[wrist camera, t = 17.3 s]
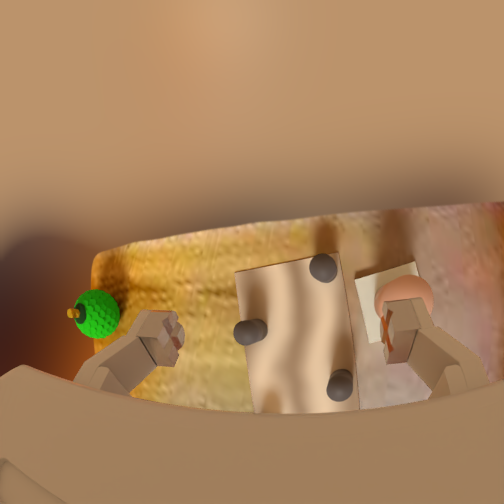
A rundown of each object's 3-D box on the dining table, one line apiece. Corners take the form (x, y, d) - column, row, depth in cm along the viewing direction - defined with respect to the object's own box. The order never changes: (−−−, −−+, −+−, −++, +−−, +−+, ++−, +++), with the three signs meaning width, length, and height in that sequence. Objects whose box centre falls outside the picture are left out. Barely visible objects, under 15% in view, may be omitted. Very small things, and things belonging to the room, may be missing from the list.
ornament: (110, 282, 47) (66, 276, 38) (136, 309, 44) (91, 308, 35) (94, 317, 48) (51, 316, 38) (118, 346, 45) (74, 350, 35)
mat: (413, 262, 32) (414, 261, 31) (428, 324, 30) (429, 324, 29) (354, 280, 34) (354, 279, 33) (369, 342, 32) (369, 343, 32)
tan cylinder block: (407, 277, 31) (426, 267, 23) (416, 316, 30) (438, 320, 22) (369, 288, 33) (377, 283, 24) (378, 328, 31) (389, 336, 23)
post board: (338, 253, 36) (336, 245, 31) (360, 430, 31) (361, 446, 26) (236, 273, 40) (221, 269, 36) (259, 437, 35) (248, 452, 30)
